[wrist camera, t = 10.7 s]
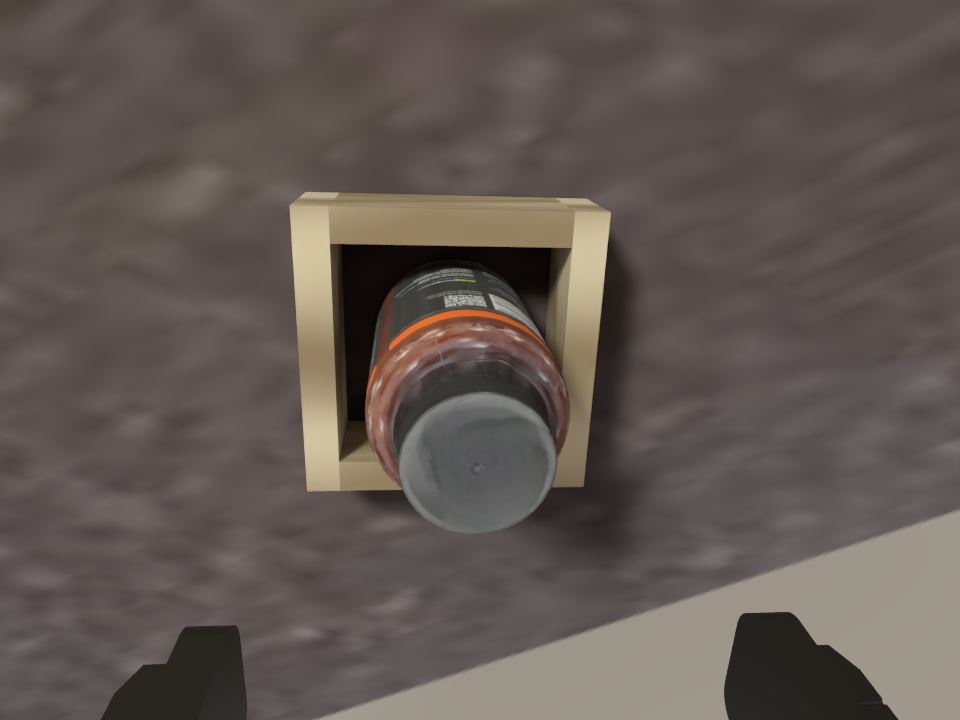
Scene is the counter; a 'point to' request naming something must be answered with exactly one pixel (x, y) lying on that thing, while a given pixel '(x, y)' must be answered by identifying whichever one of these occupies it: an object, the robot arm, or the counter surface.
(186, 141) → the counter surface
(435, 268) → the supplement bottle
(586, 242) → the wooden socket
